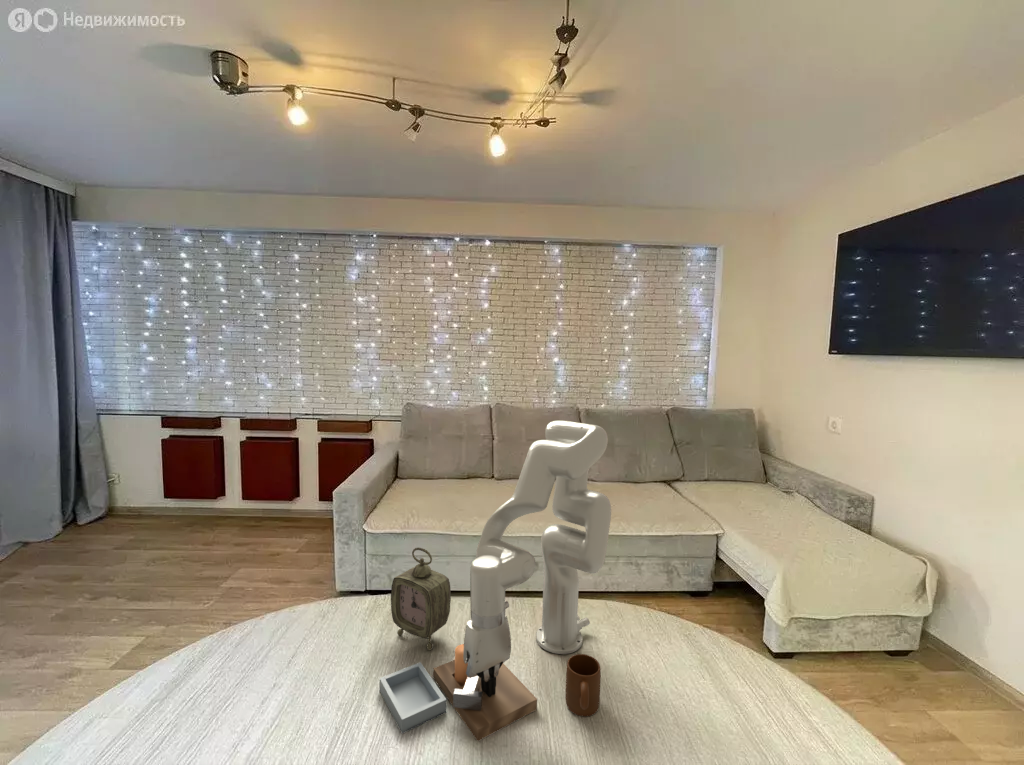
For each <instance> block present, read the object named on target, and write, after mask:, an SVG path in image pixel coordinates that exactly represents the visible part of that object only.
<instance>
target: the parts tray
mask: <svg viewBox="0 0 1024 765" xmlns="http://www.w3.org/2000/svg"><path fill="white" fill-rule="evenodd" d="M378 687H379V688H378V689H379V693H380V695H381V696H382V698H383V701H384V702H385V704H386V705H387V706H386V707H387V708H388V710H389V711H390V713H391V715H392V718H393V719H394V721H395V723H396V725H397V727H398V730H399V731H400V733H401V734H404V733H406V732H409V731H410V730H412V729H414V728H417V727H419V726H421V725H423V724H425V723H427V722H429V721H432V720H434V719H435V718H438V717H440V716H442V715H444V714H446V713H447V700H448V699H447V697H446V696H445V694H444V693H443V691H442V690H441V689H440V687H439V686H438V684H437V683H436V681H435V680H434V679H433V677H431V674H429V673H428V671H427V669H426V668H425V666H424V665H423V663H422V662H421V661H419V662H417V663H414V664H412V665H410V666H409V665H408V667H405V668H402V669H400V670H397V671H394V672H392V673H389V674H386V675H384V676H382V677H379V686H378Z"/></svg>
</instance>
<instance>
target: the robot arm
mask: <svg viewBox="0 0 1024 765" xmlns="http://www.w3.org/2000/svg"><path fill="white" fill-rule="evenodd" d="M544 431H545V432H544V434H545V436H544V437H545V439H538V440H535V441H534V442H532V443H531V444H530V446H529V449H528V451H527V454H526V457H525V460H524V462H523V466H522V468H521V472H520V474H519V478H518V480H517V483H516V486H515V488H514V491H513V493H512V496H511V497H510V498H509V499H507V500H506V501H505V502H504V503H502V504H501V505H500V506H499V507H498V508H497V509H496V510H495V511H494V512H493V513H492V514H491V515H490V517H489V518H488V519H487V521H486V522H485V524H484V527H483V530H482V532H481V534H480V538H479V540H478V544H477V547H476V554H475V558H474V559H473V561H472V562H471V564H470V565H469V566H470V567H469V569H470V570H469V576H470V578H469V582H470V584H469V586H470V587H469V588H470V590H469V591H470V592H469V593H470V594H469V595H470V619H469V620H468V621H467V623H466V626H465V632H464V638H463V640H464V641H463V644H464V652H463V659H464V663H465V664H467V663H468V665H467V670H466V675H467V676H468V677H469V678H472V677H476V676H478V677H480V678H481V689H482V691H483V692H484V693H486V694H487V696H488V697H491V696H492V695H494V694H496V677H497V676H498V674H499V669H500V667H501V666H502V664H505V662H507V661H508V660H509V659H510V658H511V654H512V638H511V635H512V634H511V628H510V622H509V620H508V616H507V614H506V609H507V608H510V603H509V601H507V600H506V590H507V589H510V588H512V587H515V586H519V585H522V584H524V583H526V582H527V581H528V580H529V579H531V577H533V574H534V573H535V570H536V565H537V564H536V563H537V562H536V558H535V557H534V554H532V553H531V552H530V551H528V550H527V549H524V548H521V547H519V546H516V545H513V544H512V543H508V542H506V541H503V540H502V538H503V535H504V533H505V531H506V529H507V528H508V526H509V525H510V524H511V523H512V522H513V521H515V520H516V519H519V518H521V517H523V516H526V515H529V514H535V513H540V512H542V511H544V510H546V508H547V507H548V504H549V500H550V498H551V494H552V491H553V488H554V491H553V498H552V504H551V505H552V514H553V515H554V517H555V518H558V519H559V520H561V521H564V522H567V523H570V524H574V525H577V526H581V527H584V528H585V531H584V530H580V529H577V528H574V527H570V526H568V525H563V524H559V523H557V524H551V525H549V526H547V527H546V528H545V529H544V530H543V532H542V533H541V537H540V538H541V539H540V551H541V556H542V562H543V564H542V565H543V587H542V613H541V614H542V615H541V617H542V619H541V626H540V627H538V628H537V630H536V634H535V637H536V638H535V639H536V643H537V644H538V646H540V648H542V649H544V650H545V651H547V652H550V653H553V654H557V655H569V654H572V653H575V652H576V651H578V650H579V649H580V648H581V647H582V645H583V635H582V633H581V632H580V631H581V630H582V628H584V627H587V626H590V624H591V623H590V619H589V618H588V617H584V618H582V619H581V618H580V615H578V611H579V609H578V608H579V587H580V585H579V584H580V579H579V573H578V571H581V572H584V573H588V574H597V573H598V572H600V570H601V569H602V568H603V566H604V563H605V560H606V556H607V550H608V542H609V536H610V535H609V534H610V527H611V520H612V505H611V501H610V499H609V498H608V496H606V495H605V494H604V493H602V492H600V491H595V490H590V489H589V488H588V480H589V469H590V468H592V466H593V465H594V464H596V462H598V461H599V460H600V458H602V456H603V455H604V453H605V452H606V449H607V447H608V442H609V437H608V434H607V431H606V430H605V429H604V428H603V427H602V426H599V425H597V424H591V423H584V422H575V421H570V420H559V419H558V420H552V421H549V422H548V424H547V425H546V427H545V430H544Z"/></svg>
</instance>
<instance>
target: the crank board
mask: <svg viewBox="0 0 1024 765" xmlns="http://www.w3.org/2000/svg"><path fill="white" fill-rule="evenodd" d="M432 670H433V671H432V672H433V673H432V675H433V677H432V679H433V681H434V682H435V684H436V685H437V686H438V688H439V689H440V691H441V692H442V694H443V695H444V697H445V698H446V699H447V700H448V701H449V703H450V704H451V705H452V707H453V693H454V690H455V689H464V686H465V685H464V686H460V685H459V683H458V682H457V681H456V680H455V659H452V660H450V661H448V662H446V663H443V664H440V665H438V666H435V667H433V668H432ZM478 691H479V692H483V691H482V689H481V682H480V685H479V689H478ZM453 709H454V710H455V711H456V713H457V714H458V715H459V717H460V718H461V720H462V722H463V723H464V725H465V726H466V727H467V729H468V730H469V731H470V732H471V734H472V736H473V737H474V739H475V740H476V742H480V741H481V740H483V739H485V738H487V737H489V736H491V735H492V734H494V733H497V732H498V731H500V730H502V729H504V728H506V727H508V726H509V725H511V724H513V723H515V722H517V721H519V720H520V719H523V718H524V717H526V716H528V715H530V714H531V713H533V712H535V711H537V710H538V698H537V697H536V696H535V695H534V694H533V693H532V691H530V690H529V689H528V688H527V687H526V685H525V684H524V683H523V682H522V681H520V679H519V678H518V677H517V676H516V675H515V674H514V673H513V672H512V671H511V670H510V669H509V667H507V666H506V664H505V663H503V664H502V666H501V667H500V669H499V674H498V676H497V677H496V694H494V695H492V696H491V697H488V696H487V694H486V693H484V692H483V696H482V708H481V711H479V710H471V709H464V708H456V707H453Z"/></svg>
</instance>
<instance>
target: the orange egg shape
mask: <svg viewBox="0 0 1024 765" xmlns="http://www.w3.org/2000/svg"><path fill="white" fill-rule="evenodd" d="M463 652H464V643H462V644H458V645H457V646H456V647H455V649H454V660H455V680H456V681H457V682H458V683H459V685H460V686H464V685H465V683H466V680H467V677H468V676H467V675H466V670H467V665H468V663H467V664H465V663H464V659H463Z"/></svg>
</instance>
